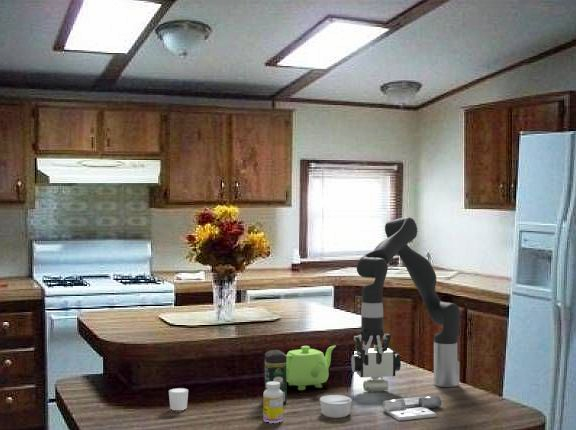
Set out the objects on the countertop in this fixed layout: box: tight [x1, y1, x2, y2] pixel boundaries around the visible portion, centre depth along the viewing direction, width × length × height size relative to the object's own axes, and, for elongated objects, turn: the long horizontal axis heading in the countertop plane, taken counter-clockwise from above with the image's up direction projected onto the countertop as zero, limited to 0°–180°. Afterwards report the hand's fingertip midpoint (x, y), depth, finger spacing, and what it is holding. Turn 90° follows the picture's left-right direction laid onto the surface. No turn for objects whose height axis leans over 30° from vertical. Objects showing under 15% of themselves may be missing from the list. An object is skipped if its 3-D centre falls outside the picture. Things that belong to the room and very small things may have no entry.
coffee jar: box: [264, 349, 288, 404], centre depth 261 cm, size 10×8×19 cm
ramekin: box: [319, 394, 353, 419], centre depth 245 cm, size 11×11×5 cm
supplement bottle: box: [262, 381, 284, 424], centre depth 237 cm, size 7×7×13 cm
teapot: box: [285, 345, 337, 391], centre depth 282 cm, size 25×22×16 cm
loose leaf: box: [382, 398, 437, 422], centre depth 245 cm, size 14×12×4 cm
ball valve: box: [351, 345, 402, 393], centre depth 275 cm, size 18×8×18 cm, turn 97°
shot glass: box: [168, 387, 189, 410], centre depth 250 cm, size 7×7×7 cm
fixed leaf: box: [391, 395, 442, 409], centre depth 255 cm, size 15×12×4 cm
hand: (372, 364), depth 245 cm, fingers open, 4 cm apart
